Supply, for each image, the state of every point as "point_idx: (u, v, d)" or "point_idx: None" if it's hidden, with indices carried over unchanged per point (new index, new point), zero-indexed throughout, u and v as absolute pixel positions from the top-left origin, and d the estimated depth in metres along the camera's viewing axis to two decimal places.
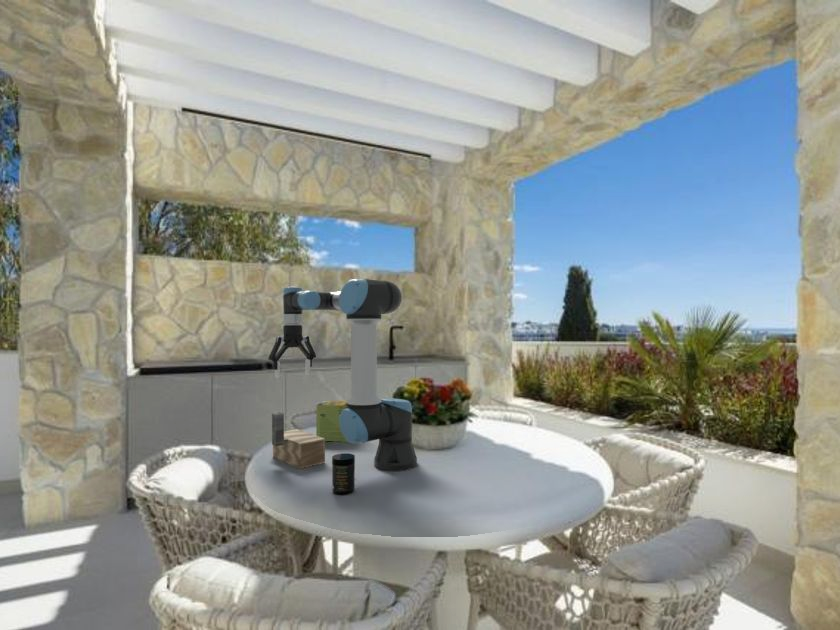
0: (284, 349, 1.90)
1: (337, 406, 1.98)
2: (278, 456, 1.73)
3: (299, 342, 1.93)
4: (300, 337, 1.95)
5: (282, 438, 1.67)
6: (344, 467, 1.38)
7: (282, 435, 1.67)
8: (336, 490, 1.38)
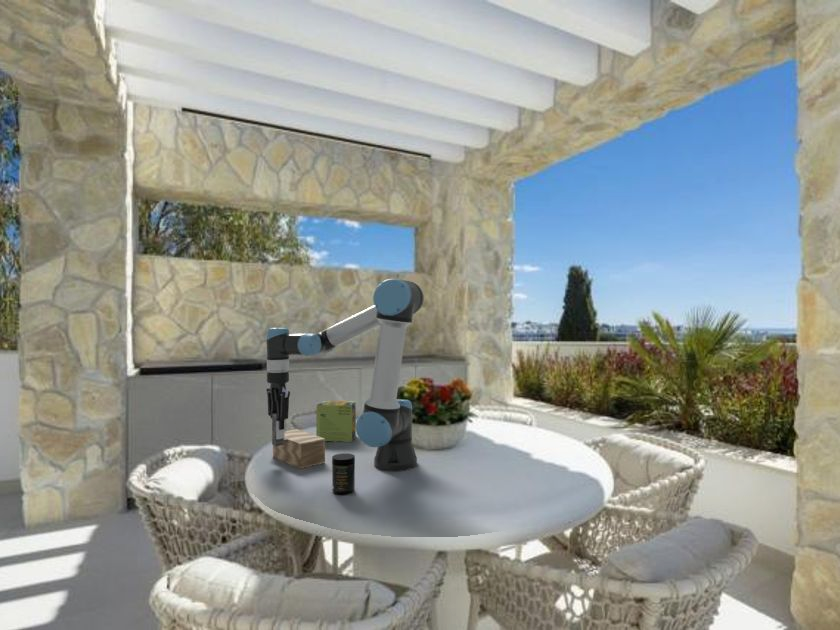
0: (272, 402, 1.68)
1: (337, 406, 1.98)
2: (278, 456, 1.73)
3: (275, 393, 1.65)
4: (279, 387, 1.64)
5: (282, 438, 1.67)
6: (344, 467, 1.38)
7: None
8: (336, 490, 1.38)
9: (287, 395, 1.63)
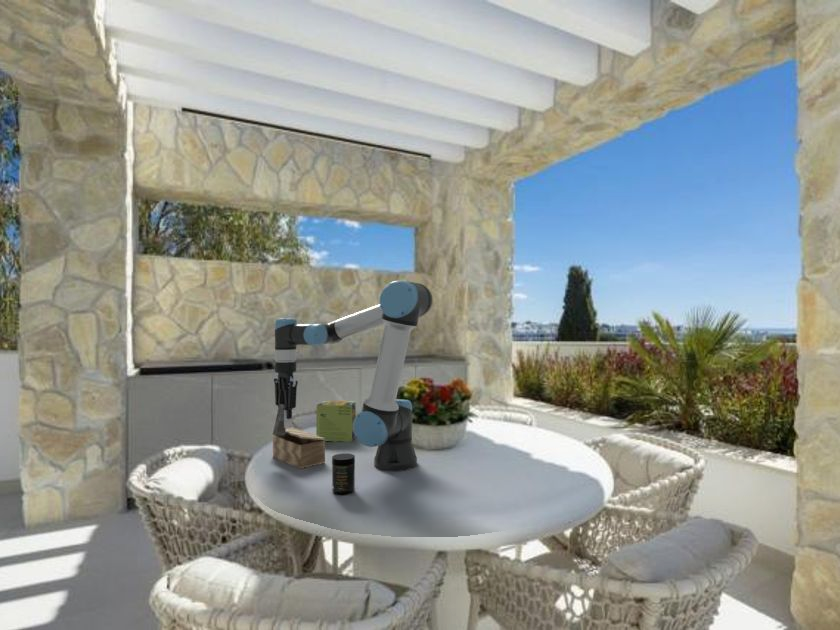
0: (279, 391, 1.70)
1: (337, 406, 1.98)
2: (278, 456, 1.73)
3: (282, 383, 1.67)
4: (287, 376, 1.66)
5: (284, 430, 1.67)
6: (344, 467, 1.38)
7: None
8: (336, 490, 1.38)
9: (295, 384, 1.65)
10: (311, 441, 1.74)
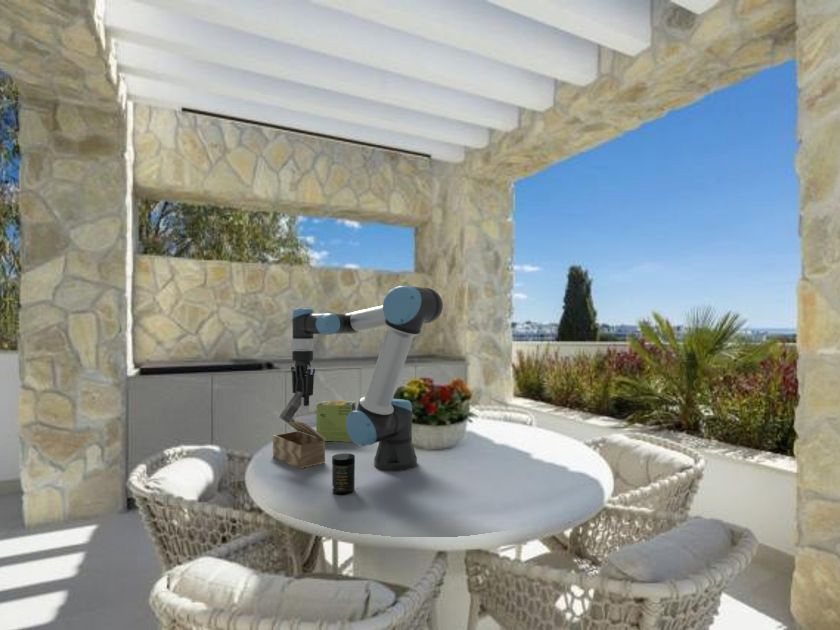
0: (296, 379, 1.75)
1: (337, 406, 1.98)
2: (278, 456, 1.73)
3: (300, 371, 1.72)
4: (304, 365, 1.71)
5: (291, 416, 1.69)
6: (344, 467, 1.38)
7: (293, 413, 1.70)
8: (336, 490, 1.38)
9: (312, 372, 1.70)
10: (311, 441, 1.74)
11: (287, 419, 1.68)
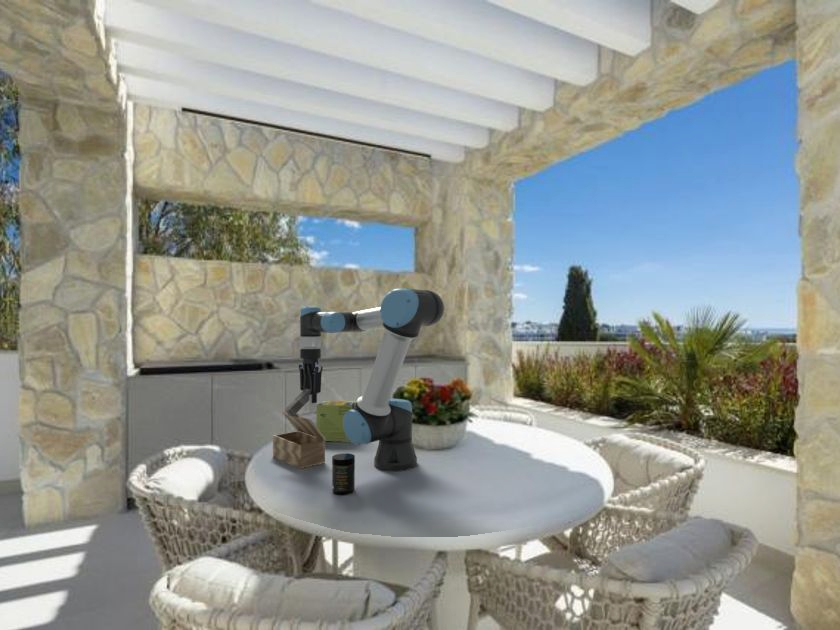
0: (304, 377, 1.77)
1: (337, 406, 1.98)
2: (278, 456, 1.73)
3: (308, 368, 1.74)
4: (312, 362, 1.73)
5: (296, 411, 1.71)
6: (344, 467, 1.38)
7: (298, 409, 1.71)
8: (336, 490, 1.38)
9: (320, 370, 1.72)
10: (311, 441, 1.74)
11: (292, 413, 1.69)
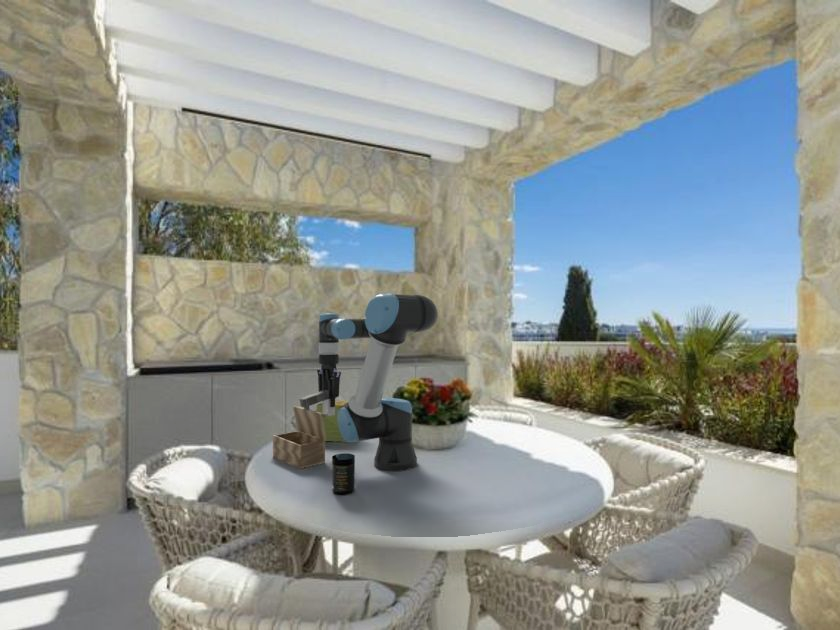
0: (323, 382, 1.82)
1: (337, 406, 1.98)
2: (278, 456, 1.73)
3: (326, 373, 1.79)
4: (330, 368, 1.79)
5: (310, 404, 1.74)
6: (344, 467, 1.38)
7: (312, 403, 1.75)
8: (336, 490, 1.38)
9: (338, 375, 1.77)
10: (311, 441, 1.74)
11: (305, 403, 1.73)
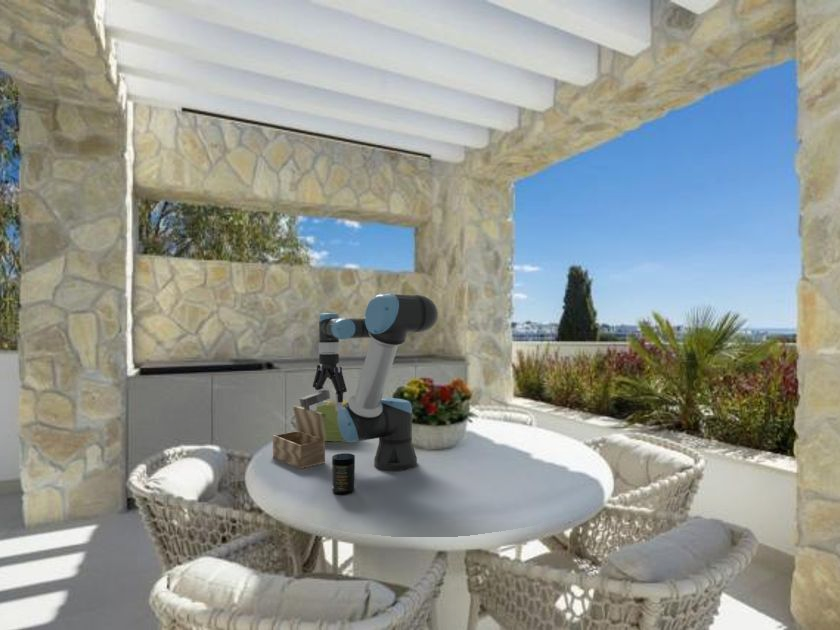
0: (320, 378, 1.84)
1: None
2: (278, 456, 1.73)
3: (327, 373, 1.79)
4: (330, 367, 1.79)
5: (310, 404, 1.74)
6: (344, 467, 1.38)
7: (312, 403, 1.75)
8: (336, 490, 1.38)
9: (340, 369, 1.77)
10: (311, 441, 1.74)
11: (305, 403, 1.73)
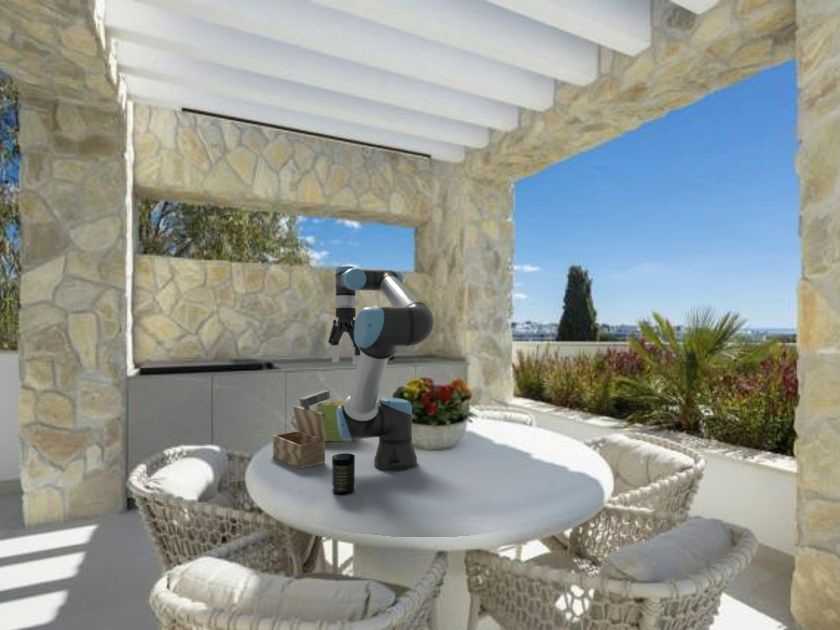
0: (336, 333, 1.81)
1: (337, 406, 1.98)
2: (278, 456, 1.73)
3: (344, 326, 1.76)
4: (347, 321, 1.76)
5: (310, 404, 1.74)
6: (344, 467, 1.38)
7: (312, 403, 1.75)
8: (336, 490, 1.38)
9: None
10: (311, 441, 1.74)
11: (305, 403, 1.73)
